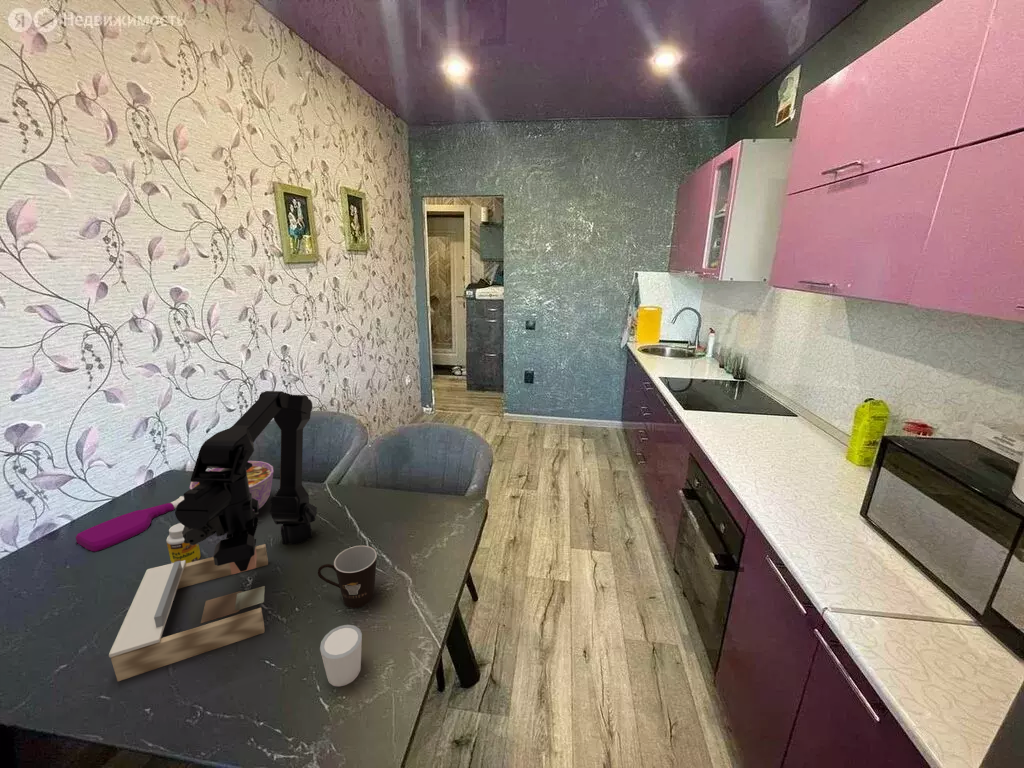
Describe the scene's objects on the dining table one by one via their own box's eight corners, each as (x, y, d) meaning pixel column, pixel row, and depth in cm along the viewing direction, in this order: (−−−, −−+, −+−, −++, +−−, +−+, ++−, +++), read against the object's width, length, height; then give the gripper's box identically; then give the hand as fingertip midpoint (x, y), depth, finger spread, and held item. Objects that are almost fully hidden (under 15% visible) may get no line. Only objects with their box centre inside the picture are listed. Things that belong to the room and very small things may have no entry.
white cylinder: (331, 654, 76) (327, 624, 74) (368, 652, 76) (366, 623, 75) (317, 691, 69) (313, 659, 67) (358, 688, 70) (355, 657, 68)
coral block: (256, 555, 87) (254, 539, 86) (255, 568, 84) (253, 550, 83) (233, 561, 86) (230, 544, 84) (231, 574, 82) (228, 557, 81)
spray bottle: (74, 543, 104) (182, 498, 126) (95, 556, 100) (203, 507, 121) (71, 533, 103) (180, 490, 125) (93, 545, 99) (202, 498, 121)
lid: (185, 562, 89) (183, 551, 89) (159, 642, 70) (156, 629, 70) (147, 571, 86) (144, 560, 85) (109, 657, 67) (105, 644, 67)
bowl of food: (178, 526, 111) (169, 488, 108) (239, 489, 130) (234, 457, 127) (238, 538, 107) (232, 499, 104) (293, 499, 126) (289, 465, 123)
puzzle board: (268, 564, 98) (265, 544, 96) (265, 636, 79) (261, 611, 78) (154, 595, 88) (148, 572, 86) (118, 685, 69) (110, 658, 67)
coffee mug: (387, 588, 92) (384, 550, 89) (362, 617, 84) (358, 577, 81) (345, 575, 96) (342, 538, 93) (317, 601, 88) (313, 562, 85)
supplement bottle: (171, 575, 94) (162, 537, 91) (173, 560, 98) (165, 524, 96) (200, 566, 97) (193, 529, 94) (202, 553, 101) (195, 517, 99)
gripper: (191, 484, 85) (204, 548, 89) (170, 535, 69) (187, 609, 73) (254, 473, 90) (263, 534, 94) (248, 518, 74) (259, 588, 78)
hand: (244, 563), depth 85 cm, fingers closed on coral block, 4 cm apart
